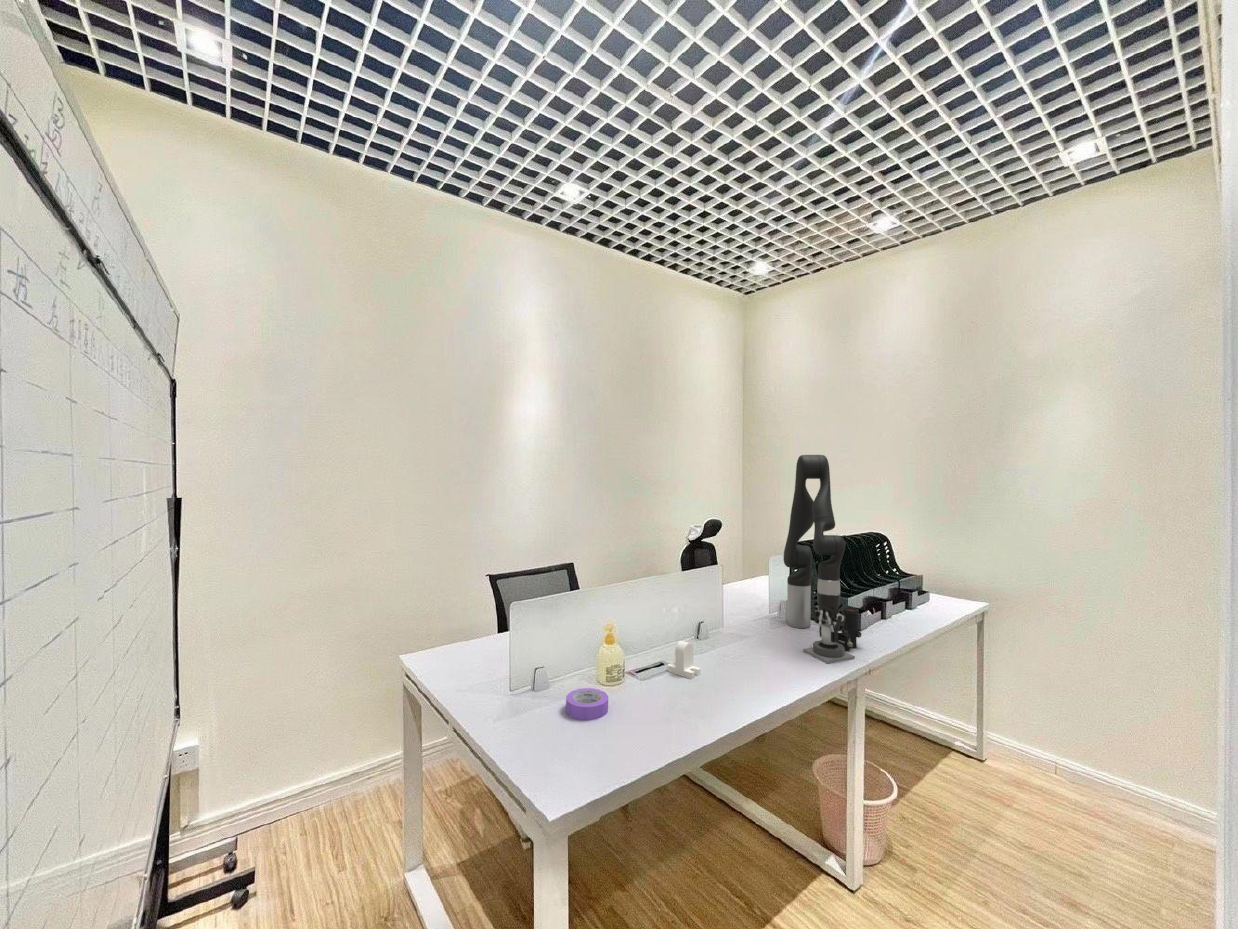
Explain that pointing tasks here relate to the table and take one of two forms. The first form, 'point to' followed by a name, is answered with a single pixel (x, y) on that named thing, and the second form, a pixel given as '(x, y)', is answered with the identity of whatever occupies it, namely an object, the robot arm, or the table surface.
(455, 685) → the table surface
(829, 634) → the cap
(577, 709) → the masking tape
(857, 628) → the scope
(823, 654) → the ring on square plate
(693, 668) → the cable organizer
